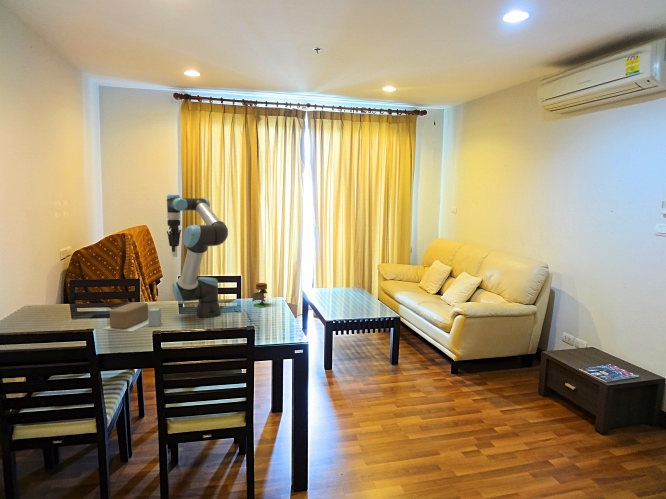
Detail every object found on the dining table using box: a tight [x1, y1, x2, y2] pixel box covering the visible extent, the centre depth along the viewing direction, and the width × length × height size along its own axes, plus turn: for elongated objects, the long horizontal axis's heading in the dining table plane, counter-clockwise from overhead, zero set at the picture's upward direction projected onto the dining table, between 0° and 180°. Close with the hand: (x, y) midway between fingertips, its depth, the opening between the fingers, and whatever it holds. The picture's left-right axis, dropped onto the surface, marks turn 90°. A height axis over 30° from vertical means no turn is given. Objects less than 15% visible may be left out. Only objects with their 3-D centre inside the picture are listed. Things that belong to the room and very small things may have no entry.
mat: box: [102, 319, 149, 333], centre depth 234 cm, size 18×20×1 cm
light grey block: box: [148, 307, 162, 327], centre depth 236 cm, size 5×5×9 cm
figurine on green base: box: [252, 282, 270, 308], centre depth 284 cm, size 12×13×15 cm
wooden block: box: [109, 301, 149, 329], centre depth 235 cm, size 10×10×20 cm
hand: (174, 256), depth 264 cm, fingers closed
